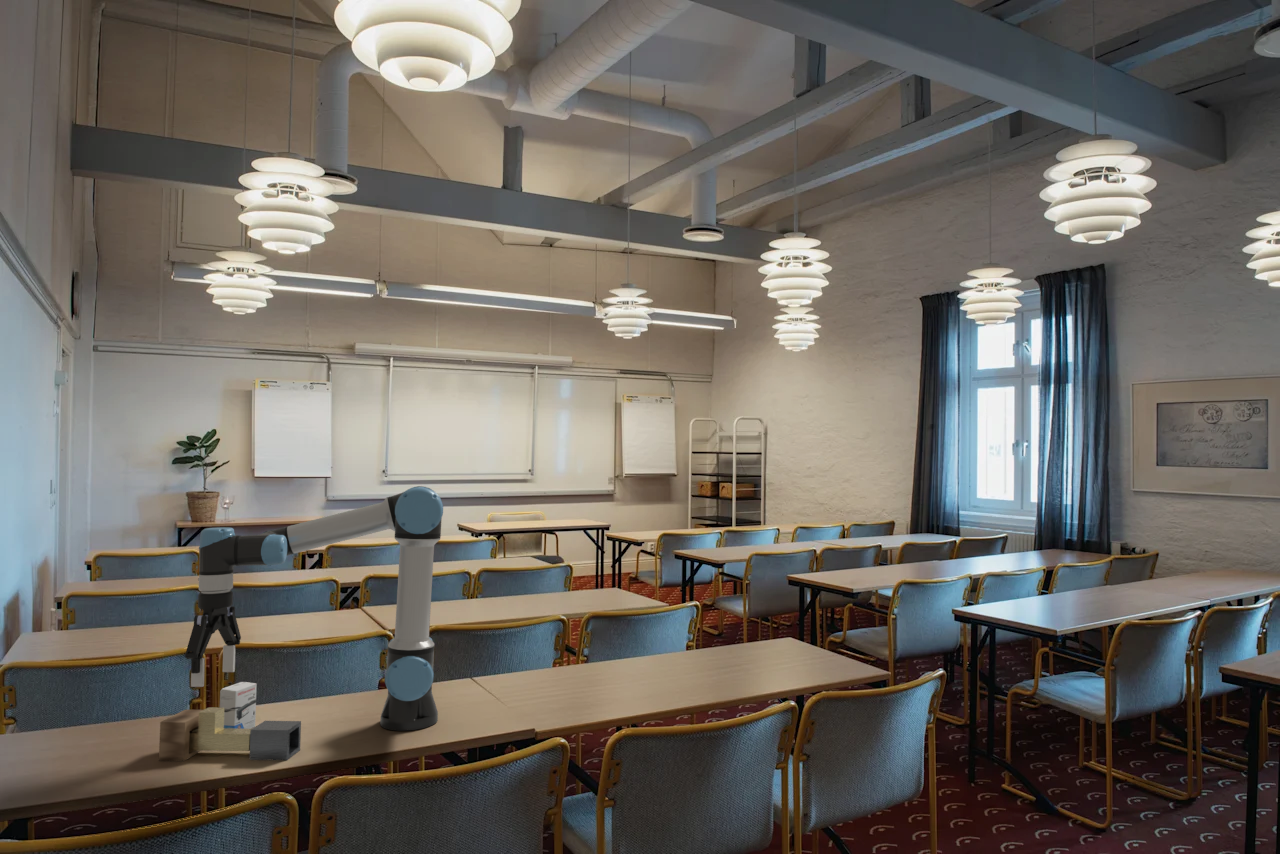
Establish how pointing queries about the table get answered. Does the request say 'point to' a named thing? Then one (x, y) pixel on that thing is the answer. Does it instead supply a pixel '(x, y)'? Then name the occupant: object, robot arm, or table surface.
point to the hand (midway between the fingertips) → (213, 679)
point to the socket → (177, 736)
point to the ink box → (239, 705)
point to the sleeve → (275, 740)
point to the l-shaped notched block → (217, 733)
